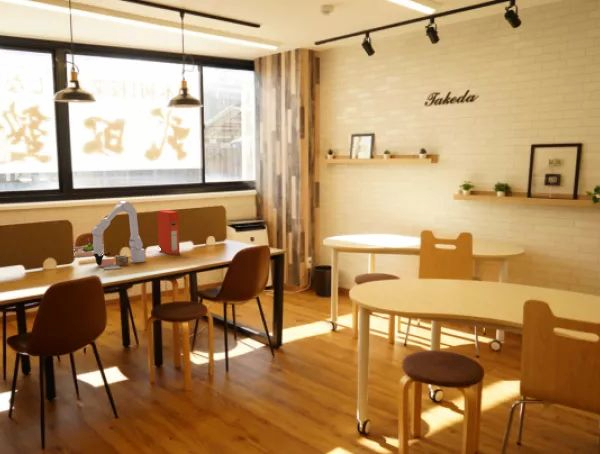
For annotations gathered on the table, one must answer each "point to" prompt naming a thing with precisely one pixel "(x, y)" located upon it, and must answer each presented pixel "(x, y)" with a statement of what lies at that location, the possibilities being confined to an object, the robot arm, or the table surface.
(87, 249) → the plant
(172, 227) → the file binder
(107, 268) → the pad
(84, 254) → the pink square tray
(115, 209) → the robot arm
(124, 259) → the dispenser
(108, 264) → the pink eraser brick
